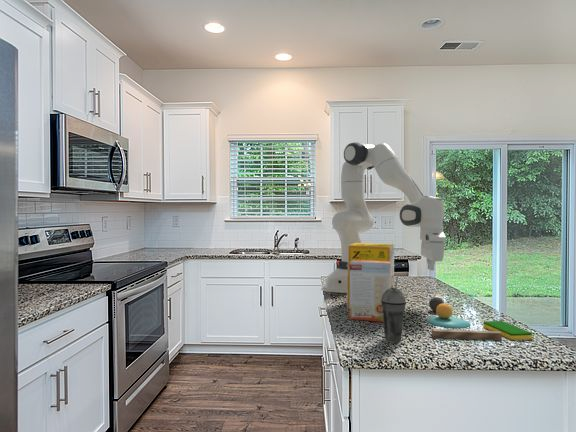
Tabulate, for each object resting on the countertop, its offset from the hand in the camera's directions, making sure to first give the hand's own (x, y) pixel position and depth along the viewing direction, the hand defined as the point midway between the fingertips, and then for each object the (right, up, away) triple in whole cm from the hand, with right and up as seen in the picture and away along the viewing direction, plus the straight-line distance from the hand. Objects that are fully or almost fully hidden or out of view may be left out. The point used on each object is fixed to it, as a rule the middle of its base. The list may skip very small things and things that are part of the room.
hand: (430, 269), depth 161 cm
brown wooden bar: (-3, -16, -39) cm, 42 cm away
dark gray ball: (0, -13, -7) cm, 14 cm away
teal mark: (-2, -15, -22) cm, 27 cm away
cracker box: (-29, -15, -19) cm, 38 cm away
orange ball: (-1, -13, -18) cm, 22 cm away
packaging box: (-24, -15, +2) cm, 28 cm away
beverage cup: (-27, -16, -42) cm, 52 cm away
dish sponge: (+12, -16, -34) cm, 39 cm away
